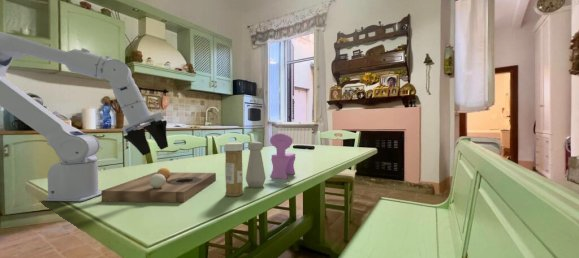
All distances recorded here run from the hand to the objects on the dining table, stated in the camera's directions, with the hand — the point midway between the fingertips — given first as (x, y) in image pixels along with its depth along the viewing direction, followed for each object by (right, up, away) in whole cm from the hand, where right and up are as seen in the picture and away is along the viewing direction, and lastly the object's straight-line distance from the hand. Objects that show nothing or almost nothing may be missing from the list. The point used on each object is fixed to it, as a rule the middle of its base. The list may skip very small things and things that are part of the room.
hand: (155, 151), depth 70 cm
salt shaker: (+27, -11, +5) cm, 29 cm away
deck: (+3, -11, +1) cm, 11 cm away
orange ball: (+2, -7, +1) cm, 7 cm away
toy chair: (+35, -10, +19) cm, 41 cm away
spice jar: (+23, -11, -4) cm, 26 cm away
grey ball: (+4, -7, -7) cm, 11 cm away
